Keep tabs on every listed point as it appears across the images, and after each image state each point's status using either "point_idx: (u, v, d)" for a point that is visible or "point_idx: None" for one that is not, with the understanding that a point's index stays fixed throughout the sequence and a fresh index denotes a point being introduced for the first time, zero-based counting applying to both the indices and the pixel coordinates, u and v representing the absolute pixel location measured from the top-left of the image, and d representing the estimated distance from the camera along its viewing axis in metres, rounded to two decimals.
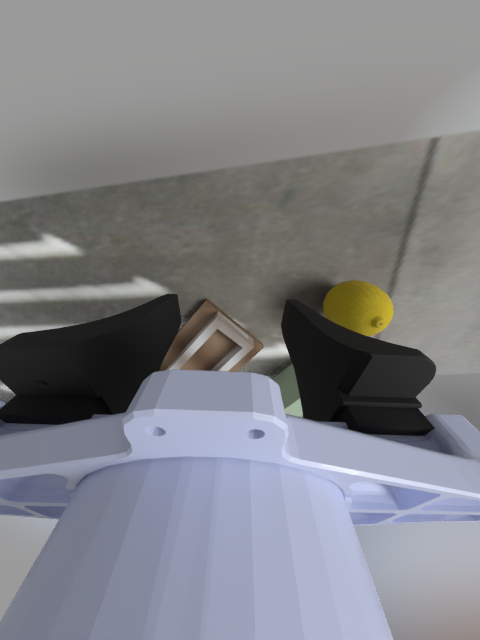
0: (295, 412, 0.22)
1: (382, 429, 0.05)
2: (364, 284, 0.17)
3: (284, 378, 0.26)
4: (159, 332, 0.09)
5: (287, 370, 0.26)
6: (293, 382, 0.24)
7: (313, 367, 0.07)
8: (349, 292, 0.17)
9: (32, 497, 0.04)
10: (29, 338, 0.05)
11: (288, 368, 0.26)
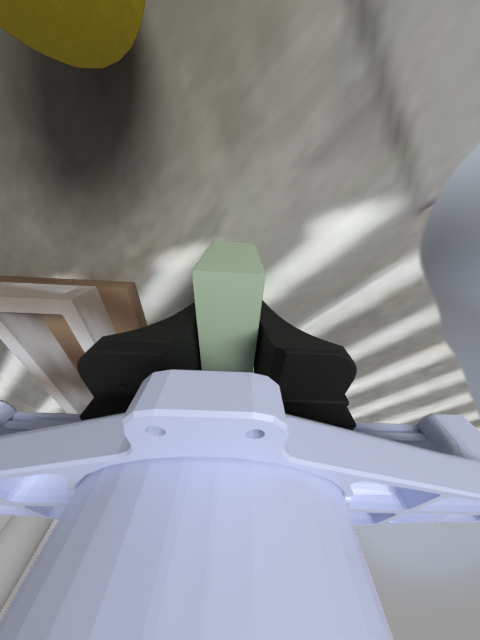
0: None
1: None
2: None
3: None
4: None
5: None
6: None
7: (260, 365, 0.07)
8: None
9: (32, 497, 0.04)
10: (118, 342, 0.05)
11: None
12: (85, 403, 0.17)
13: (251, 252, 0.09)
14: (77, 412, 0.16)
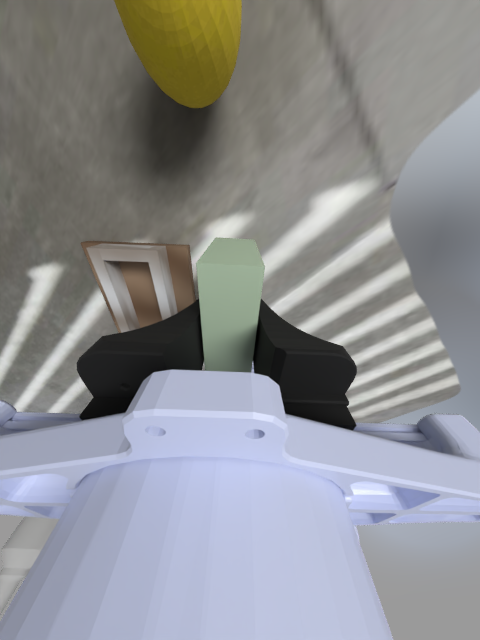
0: (232, 366, 0.09)
1: None
2: None
3: None
4: None
5: None
6: None
7: (260, 365, 0.07)
8: None
9: (32, 497, 0.04)
10: (118, 342, 0.05)
11: None
12: None
13: (251, 247, 0.09)
14: None
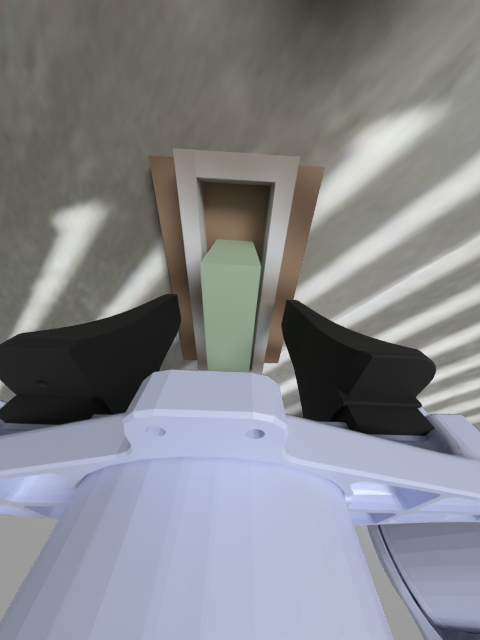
0: (232, 359, 0.10)
1: (382, 429, 0.05)
2: None
3: None
4: (159, 332, 0.09)
5: None
6: None
7: (313, 367, 0.07)
8: None
9: (32, 497, 0.04)
10: (29, 338, 0.05)
11: None
12: None
13: (250, 249, 0.10)
14: None
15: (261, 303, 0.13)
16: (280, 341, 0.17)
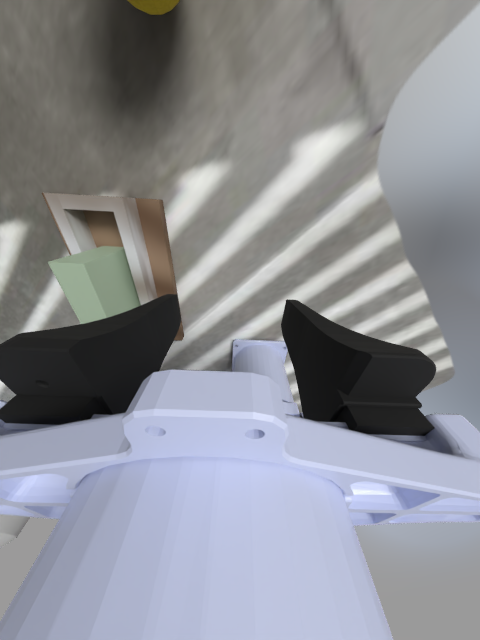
0: None
1: (382, 429, 0.05)
2: None
3: None
4: (159, 332, 0.09)
5: None
6: None
7: (313, 367, 0.07)
8: None
9: (32, 497, 0.04)
10: (29, 338, 0.05)
11: None
12: None
13: (108, 253, 0.15)
14: None
15: (137, 290, 0.18)
16: None
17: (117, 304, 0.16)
